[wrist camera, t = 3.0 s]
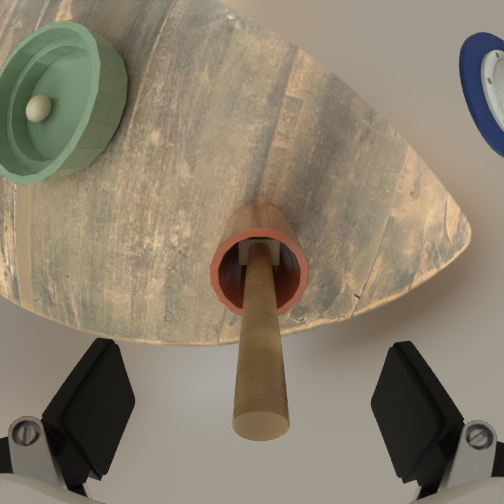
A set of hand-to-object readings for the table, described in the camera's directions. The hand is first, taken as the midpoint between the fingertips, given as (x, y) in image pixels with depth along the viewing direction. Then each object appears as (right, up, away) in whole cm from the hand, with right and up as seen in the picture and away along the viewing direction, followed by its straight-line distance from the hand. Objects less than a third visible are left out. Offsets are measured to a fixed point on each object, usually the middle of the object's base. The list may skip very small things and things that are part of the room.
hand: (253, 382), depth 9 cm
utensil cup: (+1, +6, +17) cm, 19 cm away
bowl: (-19, +20, +13) cm, 31 cm away
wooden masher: (+1, +6, +17) cm, 18 cm away
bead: (-22, +19, +11) cm, 31 cm away
